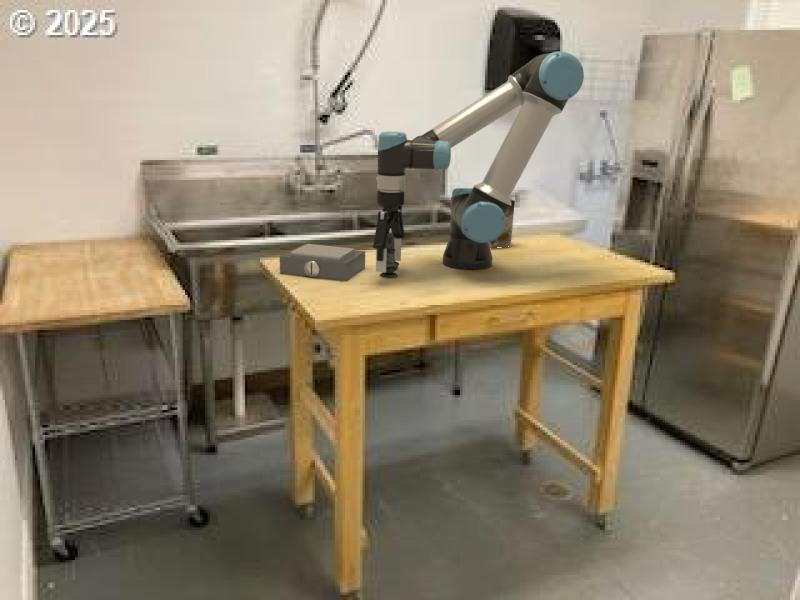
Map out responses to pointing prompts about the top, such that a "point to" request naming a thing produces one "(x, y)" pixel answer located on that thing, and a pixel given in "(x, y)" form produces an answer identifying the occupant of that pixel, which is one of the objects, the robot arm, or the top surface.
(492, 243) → the coffee box
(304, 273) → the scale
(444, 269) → the top surface
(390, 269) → the dark chess piece
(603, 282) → the top surface
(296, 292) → the top surface
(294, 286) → the top surface
